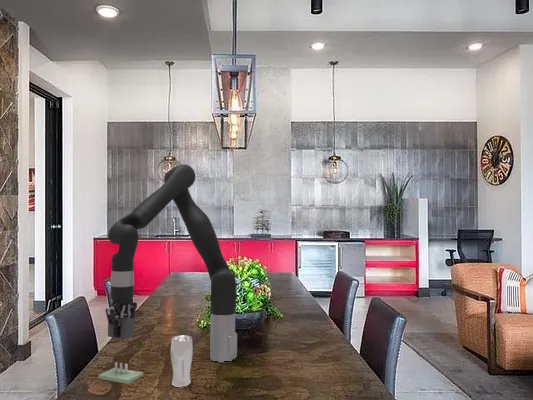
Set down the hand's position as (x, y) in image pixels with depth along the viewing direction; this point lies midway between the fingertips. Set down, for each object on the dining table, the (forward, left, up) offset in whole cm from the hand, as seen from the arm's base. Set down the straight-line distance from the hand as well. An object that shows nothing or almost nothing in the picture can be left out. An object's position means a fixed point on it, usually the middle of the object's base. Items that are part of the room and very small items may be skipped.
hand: (121, 335), depth 165 cm
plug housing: (0, 0, 0) cm, 0 cm away
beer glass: (-22, -2, -14) cm, 26 cm away
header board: (0, 0, -14) cm, 14 cm away
